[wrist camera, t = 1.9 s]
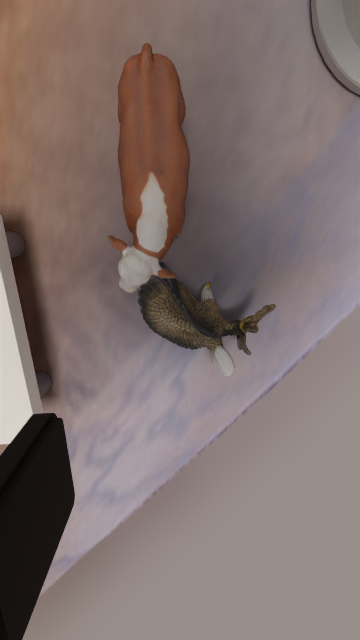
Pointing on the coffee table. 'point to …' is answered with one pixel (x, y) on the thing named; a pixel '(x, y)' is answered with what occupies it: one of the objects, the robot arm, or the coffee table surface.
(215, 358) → the eagle figurine
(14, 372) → the display shelf
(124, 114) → the bull figurine
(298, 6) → the coffee table surface
